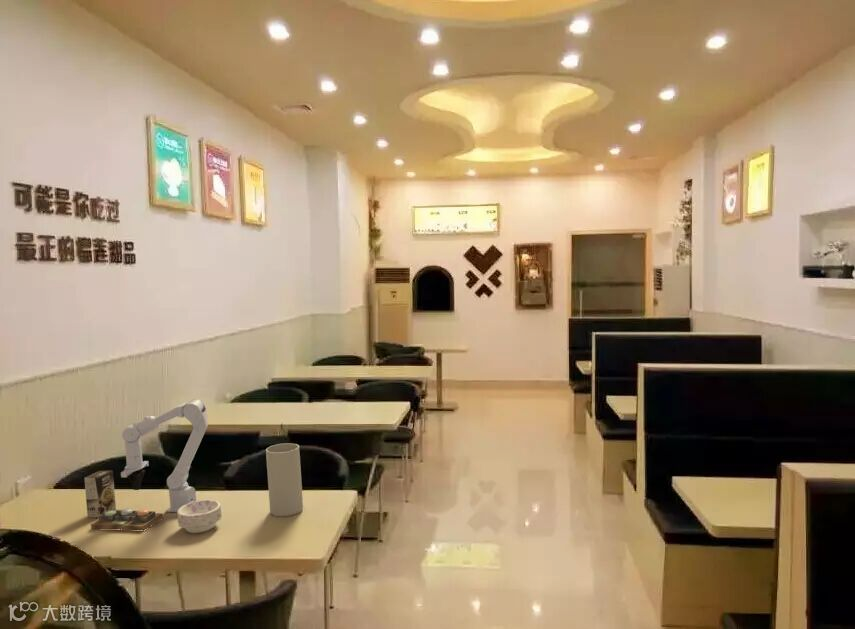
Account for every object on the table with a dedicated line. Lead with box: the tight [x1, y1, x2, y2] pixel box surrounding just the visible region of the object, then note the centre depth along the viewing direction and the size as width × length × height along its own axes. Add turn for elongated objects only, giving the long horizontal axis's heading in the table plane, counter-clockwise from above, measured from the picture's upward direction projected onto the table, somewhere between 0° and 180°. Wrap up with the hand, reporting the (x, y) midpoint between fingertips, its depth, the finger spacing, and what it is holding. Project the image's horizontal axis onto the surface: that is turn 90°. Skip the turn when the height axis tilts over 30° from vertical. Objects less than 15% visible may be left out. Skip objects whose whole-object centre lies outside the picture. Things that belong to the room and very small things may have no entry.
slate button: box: [121, 508, 134, 516], centre depth 246 cm, size 4×4×2 cm
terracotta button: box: [137, 508, 150, 517], centre depth 244 cm, size 4×4×2 cm
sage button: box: [105, 511, 116, 516], centre depth 247 cm, size 4×4×2 cm
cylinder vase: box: [265, 442, 304, 518], centre depth 250 cm, size 12×12×25 cm
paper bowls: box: [176, 499, 223, 534], centre depth 239 cm, size 15×15×8 cm
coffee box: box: [84, 470, 117, 519], centre depth 258 cm, size 9×6×16 cm
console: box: [90, 509, 164, 532], centre depth 246 cm, size 22×12×4 cm, turn 79°
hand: (136, 489), depth 257 cm, fingers closed
